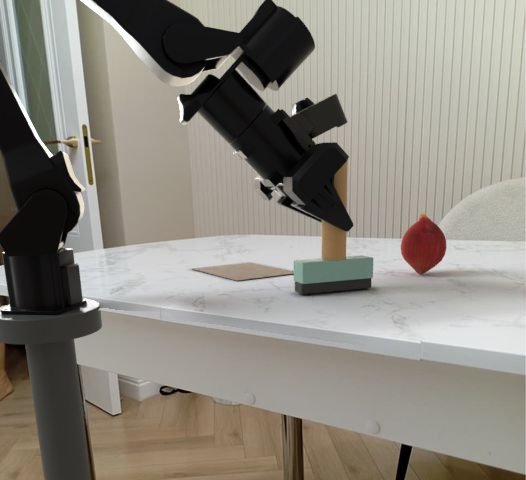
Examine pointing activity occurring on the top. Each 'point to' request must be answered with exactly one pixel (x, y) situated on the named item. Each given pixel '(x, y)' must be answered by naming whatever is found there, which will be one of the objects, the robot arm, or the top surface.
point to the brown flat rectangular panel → (244, 271)
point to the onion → (423, 245)
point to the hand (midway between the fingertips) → (345, 227)
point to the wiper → (334, 258)
